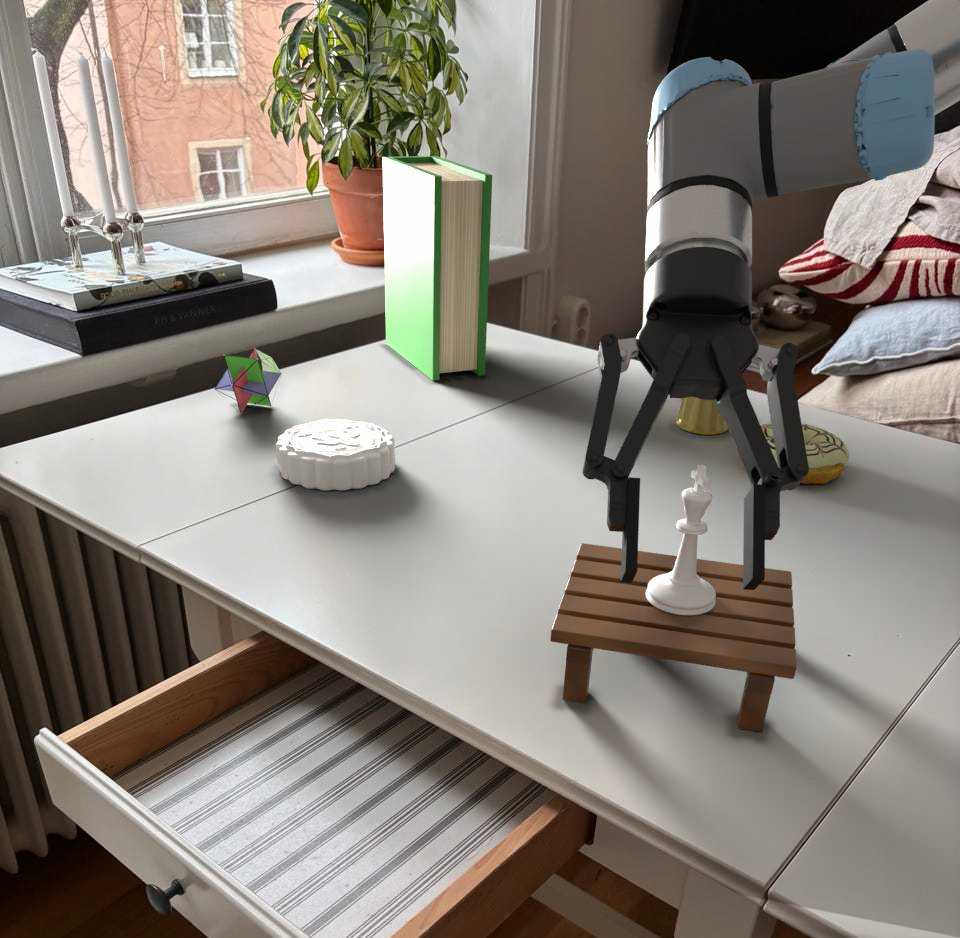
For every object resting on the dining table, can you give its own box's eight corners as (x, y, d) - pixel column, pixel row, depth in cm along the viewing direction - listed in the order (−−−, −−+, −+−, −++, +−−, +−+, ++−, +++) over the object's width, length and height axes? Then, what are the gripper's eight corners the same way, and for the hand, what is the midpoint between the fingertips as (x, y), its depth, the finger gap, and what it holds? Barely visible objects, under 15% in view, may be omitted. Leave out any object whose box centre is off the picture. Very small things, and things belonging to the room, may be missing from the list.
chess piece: (663, 619, 68) (684, 484, 62) (634, 585, 72) (651, 455, 66) (728, 611, 69) (754, 477, 64) (695, 577, 73) (717, 449, 68)
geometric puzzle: (255, 407, 110) (270, 338, 111) (199, 400, 112) (214, 332, 112) (280, 427, 117) (293, 362, 118) (227, 420, 119) (241, 356, 119)
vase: (698, 413, 120) (717, 292, 112) (739, 428, 116) (761, 303, 108) (665, 423, 116) (682, 299, 109) (706, 439, 112) (727, 311, 105)
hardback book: (484, 375, 130) (492, 174, 117) (432, 380, 127) (434, 176, 114) (434, 339, 143) (435, 155, 130) (385, 343, 141) (382, 156, 128)
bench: (777, 631, 78) (791, 569, 75) (780, 737, 66) (797, 669, 63) (575, 601, 80) (581, 540, 78) (544, 698, 69) (550, 631, 66)
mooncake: (304, 501, 95) (302, 465, 93) (261, 458, 104) (257, 425, 102) (415, 478, 100) (415, 445, 98) (365, 439, 109) (364, 408, 107)
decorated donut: (774, 492, 100) (781, 457, 98) (724, 453, 109) (729, 420, 107) (863, 483, 103) (871, 449, 101) (807, 445, 112) (814, 413, 110)
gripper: (825, 308, 74) (828, 604, 69) (551, 295, 75) (535, 587, 70) (860, 248, 67) (867, 573, 62) (557, 234, 67) (539, 554, 62)
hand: (691, 580), depth 66 cm, fingers open, 8 cm apart
